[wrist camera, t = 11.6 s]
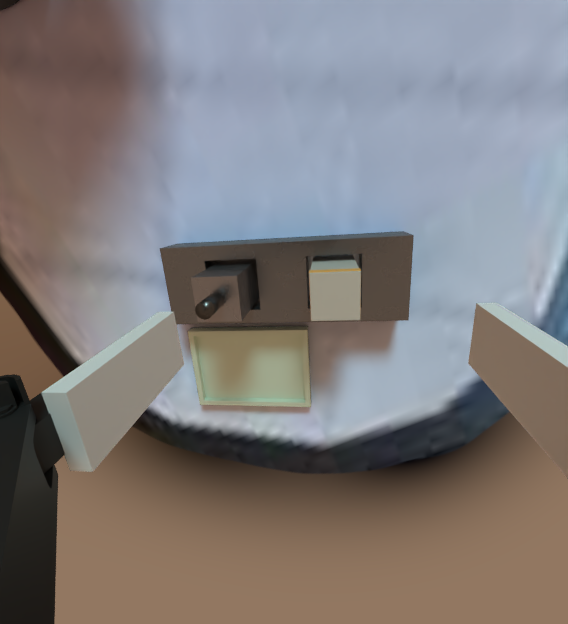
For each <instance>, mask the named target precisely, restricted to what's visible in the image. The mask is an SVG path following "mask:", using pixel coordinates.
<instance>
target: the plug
mask: <svg viewBox="0 0 568 624" xmlns="http://www.w3.org/2000/svg"><path fill="white" fill-rule="evenodd" d="M309 287H310V311H311V321H338V320H360V311H361V269H360V268H359V267H358V265H357V263H356V261H355V259H354V257H353V256H337V257H315V258H313V261H312V265H311V269H310V270H309Z"/></svg>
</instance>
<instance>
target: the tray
mask: <svg viewBox="0 0 568 624" xmlns="http://www.w3.org/2000/svg"><path fill="white" fill-rule="evenodd" d="M188 337H189V343H190V348H191V354H192V360H193V366H194V372H195V377H196V383H197V389H198V395H199V401H200V405H237V406H285V407H311V386H310V364H309V342H308V326H281V327H214V328H191V329H190V330H189V331H188Z"/></svg>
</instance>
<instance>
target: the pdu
mask: <svg viewBox="0 0 568 624" xmlns="http://www.w3.org/2000/svg"><path fill="white" fill-rule="evenodd" d="M412 251H413V235H411V234H409V233H406V232H404V231H403V232H384V233H366V234H348V235H329V236H311V237H292V238H274V239H256V240H237V241H219V242H201V243H182V244H175V245H171V246H168V247H164V248H160V252H161V257H162V263H163V268H164V273H165V279H166V284H167V290H168V295H169V300H170V306H171V311H172V312H174V315H175V320H176V324H211V323H270V322H330V321H311V311H310V287H309V270H310V269H311V265H312V261H313V258H315V257H337V256H353V257H354V259H355V261H356V263H357V265H358V267H359V268H360V269H361V311H360V320H338V321H390V320H408V318H409V301H410V284H411V268H412Z"/></svg>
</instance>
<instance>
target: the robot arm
mask: <svg viewBox="0 0 568 624" xmlns="http://www.w3.org/2000/svg"><path fill="white" fill-rule="evenodd" d="M17 1H19V0H0V10H1V9H4V8H7V7H9V6H11V5H13V4H14V3H16V2H17ZM183 365H184V362H183V356H182V351H181V346H180V341H179V336H178V330H177V325H176V320H175V315H174V312H158V313H156V314H155V315H153V316H152V317H150V318H149V319H148V320H146V321H145V322H143V323H142V324H140V325H139V326H137V327H136V328H134V329H133V330H132V331H130V332H129V333H127V334H126V335H124V336H123V337H121V338H120V339H118V340H117V341H116V342H114V343H113V344H111V345H110V346H108V347H107V348H105V349H104V350H102V351H101V352H100V353H98V354H97V355H95V356H94V357H92V358H91V359H89V360H88V361H86V362H85V363H83V364H82V365H81V366H79V367H78V368H76V369H75V370H73V371H72V372H70V373H69V374H67V375H66V376H65V377H63V378H62V379H60V380H59V381H57V382H56V383H54V384H53V385H51V386H50V387H49V388H47V389H46V390H44V391H43V392H41V393H40V394H39V395H37V396H36V397H34V398H33V399H31V400H30V401H29V398H28V396H27V393H26V390H25V388H24V385H23V383H22V380H21V377H20V376H18V375H4V376H0V624H54V616H55V575H56V536H57V534H56V533H57V496H58V495H57V493H58V473H57V471H56V468H55V465H54V464H55V463H56V462H57V461H58V460H59V459H60V458H61V457H62V456H63V455H64V456H65V458H66V461H67V464H68V467H69V469H70V471H86V472H87V471H88V472H93V471H94V470H95V469H96V468H97V466H98V465H99V464H100V463H101V462H102V461H103V459H104V458H105V457H106V456H107V455H108V453H109V452H110V451H111V450H112V449H113V447H114V446H115V445H116V444H117V443H118V442H119V440H120V439H121V438H122V437H123V436H124V434H125V433H126V432H127V431H128V430H129V429H130V428H131V426H132V425H133V424H134V423H135V422H136V420H137V419H138V418H139V417H140V416H141V415H142V413H143V412H144V411H145V410H146V409H147V407H148V406H149V405H150V404H151V403H152V402H153V400H154V399H155V398H156V397H157V396H158V394H159V393H160V392H161V391H162V390H163V389H164V387H165V386H166V385H167V384H168V383H169V381H170V380H171V379H172V378H173V377H174V376H175V374H176V373H177V372H178V371H179V370H180V368H181V367H182V366H183ZM469 365H470V366H471V367H472V368H473V369H474V370H475V372H476V373H477V374H478V375H479V376H480V377H481V378H482V380H483V381H484V382H485V383H486V384H487V385H488V387H489V388H490V389H491V390H492V391H493V392H494V394H495V395H496V396H497V397H498V398H499V399H500V401H501V402H502V403H503V404H504V405H505V406H506V407H507V409H508V410H509V411H510V412H511V413H512V414H513V415H514V417H515V418H516V419H517V420H518V421H519V423H520V424H521V425H522V426H523V427H524V428H525V429H526V431H527V432H528V433H529V434H530V435H531V436H532V438H533V439H534V440H535V441H536V442H537V443H538V445H539V446H540V447H541V448H542V449H543V450H544V452H545V453H546V454H547V455H548V456H549V457H550V458H551V460H552V461H553V462H554V463H555V464H556V465H557V467H558V468H559V469H560V470H561V471H562V472H563V474H564V475H565V476H566V477H567V478H568V346H566V345H564V344H563V343H561V342H560V341H558V340H556V339H555V338H553V337H551V336H550V335H548V334H547V333H545V332H543V331H542V330H540V329H538V328H537V327H535V326H534V325H532V324H530V323H529V322H527V321H525V320H524V319H522V318H521V317H519V316H517V315H516V314H514V313H512V312H511V311H509V310H507V309H506V308H504V307H503V306H501V305H499V304H498V303H476V310H475V317H474V325H473V333H472V340H471V348H470V355H469Z"/></svg>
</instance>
